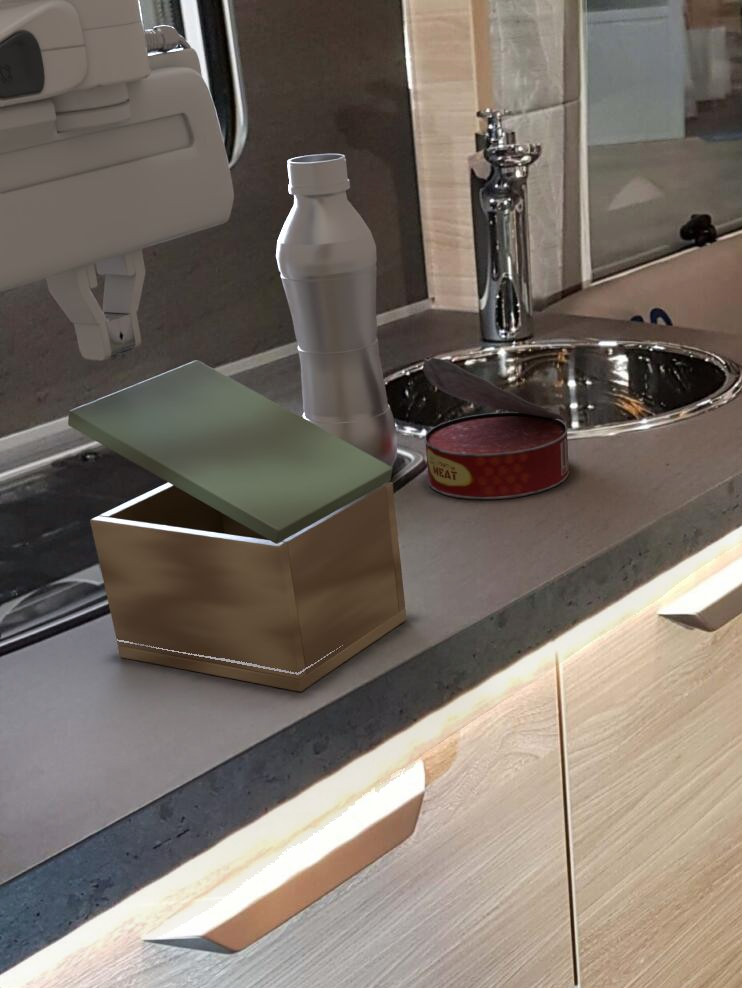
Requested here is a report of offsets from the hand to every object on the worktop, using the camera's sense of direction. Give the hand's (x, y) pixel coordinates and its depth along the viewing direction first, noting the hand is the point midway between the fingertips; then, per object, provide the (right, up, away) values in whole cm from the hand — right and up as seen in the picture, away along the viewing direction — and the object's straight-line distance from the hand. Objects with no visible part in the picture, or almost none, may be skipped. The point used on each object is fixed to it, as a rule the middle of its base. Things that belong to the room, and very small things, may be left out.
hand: (112, 353), depth 81 cm
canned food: (+20, +3, +27) cm, 34 cm away
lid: (+6, -5, 0) cm, 8 cm away
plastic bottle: (+10, +3, +28) cm, 30 cm away
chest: (+7, -14, +6) cm, 16 cm away
